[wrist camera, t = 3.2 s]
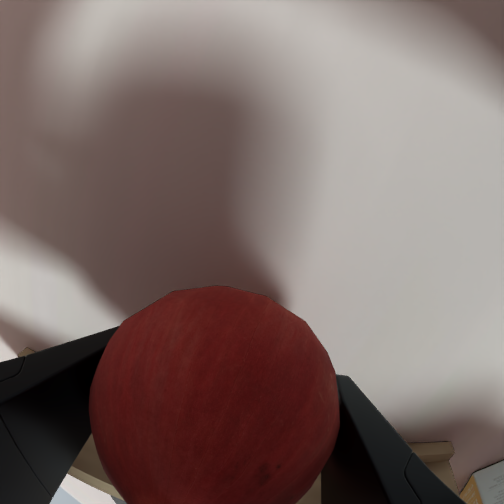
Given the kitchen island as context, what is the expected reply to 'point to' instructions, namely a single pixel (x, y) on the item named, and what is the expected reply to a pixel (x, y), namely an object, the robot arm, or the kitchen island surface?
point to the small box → (485, 486)
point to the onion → (214, 402)
